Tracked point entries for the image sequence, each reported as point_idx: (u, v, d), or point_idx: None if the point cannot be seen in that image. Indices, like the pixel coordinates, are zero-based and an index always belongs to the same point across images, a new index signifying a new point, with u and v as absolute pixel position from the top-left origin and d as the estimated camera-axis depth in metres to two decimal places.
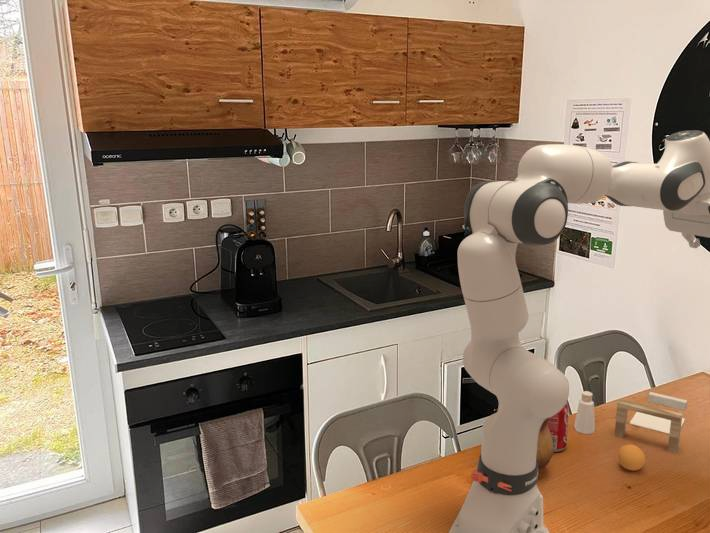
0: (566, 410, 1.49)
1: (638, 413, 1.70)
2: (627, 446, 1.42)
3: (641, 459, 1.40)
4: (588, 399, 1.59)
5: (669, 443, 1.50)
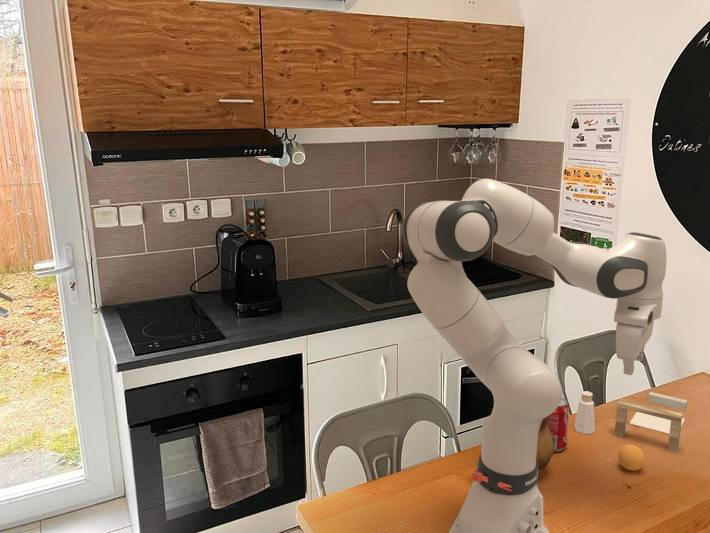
0: (566, 410, 1.49)
1: (638, 413, 1.70)
2: (627, 446, 1.42)
3: (641, 459, 1.40)
4: (588, 399, 1.59)
5: (669, 443, 1.50)
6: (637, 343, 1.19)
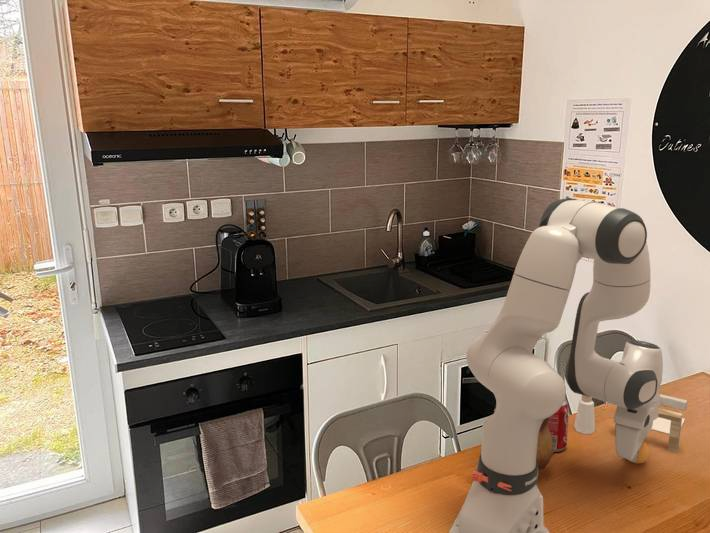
0: (566, 410, 1.49)
1: None
2: None
3: (647, 448, 1.43)
4: (588, 399, 1.59)
5: (669, 443, 1.50)
6: (634, 444, 1.31)
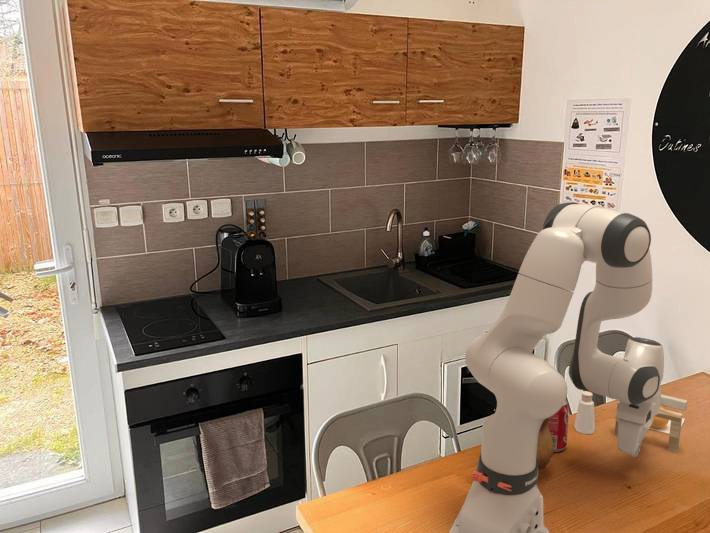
0: (566, 410, 1.49)
1: None
2: None
3: None
4: (588, 399, 1.59)
5: (669, 443, 1.50)
6: (636, 439, 1.34)
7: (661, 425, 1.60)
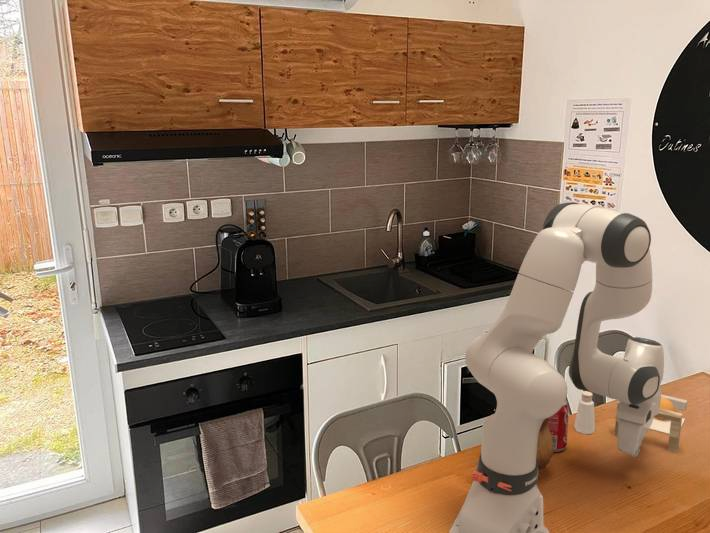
0: (566, 410, 1.49)
1: None
2: None
3: None
4: (588, 399, 1.59)
5: (669, 443, 1.50)
6: (636, 439, 1.34)
7: (670, 401, 1.66)
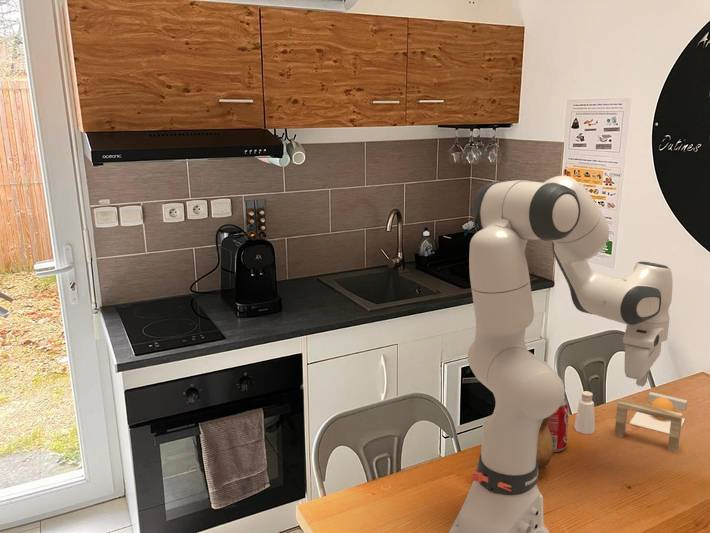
0: (566, 410, 1.49)
1: (638, 413, 1.70)
2: None
3: None
4: (588, 399, 1.59)
5: (669, 443, 1.50)
6: (644, 363, 1.30)
7: (670, 401, 1.66)
